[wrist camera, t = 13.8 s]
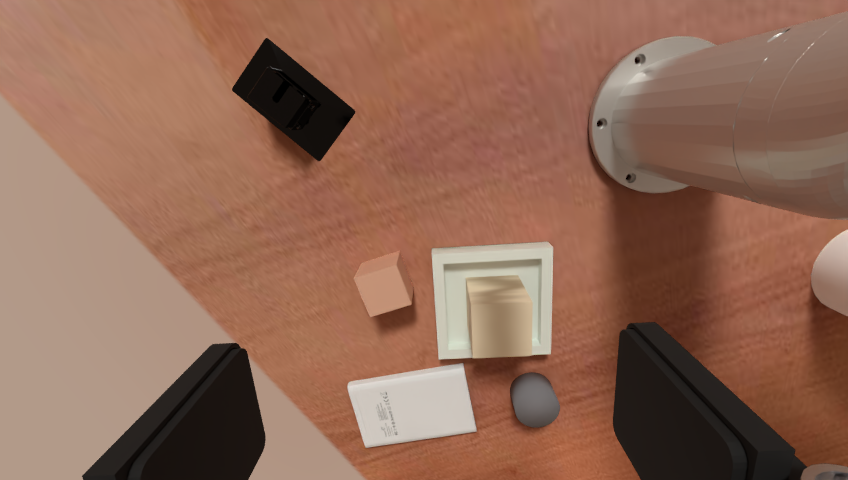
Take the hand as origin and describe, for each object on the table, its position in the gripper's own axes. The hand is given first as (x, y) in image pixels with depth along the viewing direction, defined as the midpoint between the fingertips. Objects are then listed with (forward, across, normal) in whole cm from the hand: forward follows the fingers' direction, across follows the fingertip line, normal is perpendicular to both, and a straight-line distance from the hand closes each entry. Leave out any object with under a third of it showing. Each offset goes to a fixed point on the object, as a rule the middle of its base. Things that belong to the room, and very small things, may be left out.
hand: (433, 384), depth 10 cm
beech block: (+28, -5, +11) cm, 30 cm away
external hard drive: (+29, +4, +23) cm, 37 cm away
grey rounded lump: (+28, -9, +22) cm, 37 cm away
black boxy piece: (+29, +12, -9) cm, 33 cm away
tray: (+28, -5, +11) cm, 31 cm away
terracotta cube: (+28, +5, +8) cm, 30 cm away
